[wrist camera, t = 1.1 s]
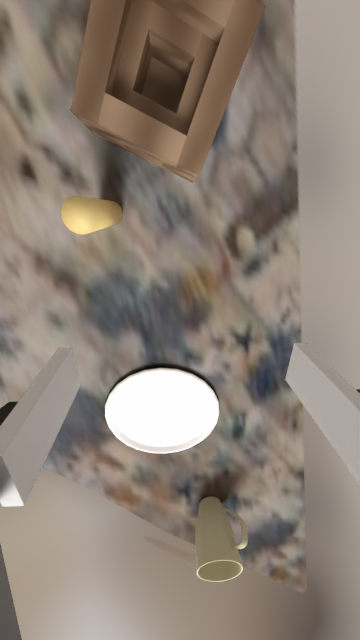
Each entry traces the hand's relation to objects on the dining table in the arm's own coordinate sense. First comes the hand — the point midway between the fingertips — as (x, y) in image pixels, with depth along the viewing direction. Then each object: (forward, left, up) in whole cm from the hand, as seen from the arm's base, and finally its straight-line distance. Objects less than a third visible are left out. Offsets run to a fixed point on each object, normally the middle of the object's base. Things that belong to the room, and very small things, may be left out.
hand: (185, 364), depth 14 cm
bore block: (-8, +17, -21) cm, 29 cm away
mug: (+29, -47, -21) cm, 59 cm away
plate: (+8, -25, -22) cm, 34 cm away
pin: (-10, +4, -21) cm, 24 cm away
